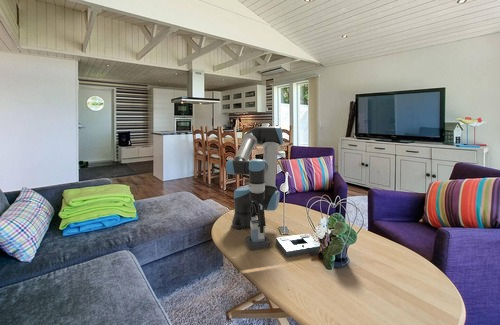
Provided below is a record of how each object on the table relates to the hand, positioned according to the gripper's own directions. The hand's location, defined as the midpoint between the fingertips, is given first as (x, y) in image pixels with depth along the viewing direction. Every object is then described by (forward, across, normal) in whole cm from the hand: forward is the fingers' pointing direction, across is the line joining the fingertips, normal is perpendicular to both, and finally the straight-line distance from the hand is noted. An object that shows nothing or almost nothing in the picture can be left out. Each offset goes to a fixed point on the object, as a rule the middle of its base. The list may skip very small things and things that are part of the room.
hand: (257, 233), depth 129 cm
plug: (+6, 0, 0) cm, 6 cm away
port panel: (+7, +9, +18) cm, 21 cm away
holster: (+7, 0, 0) cm, 7 cm away
